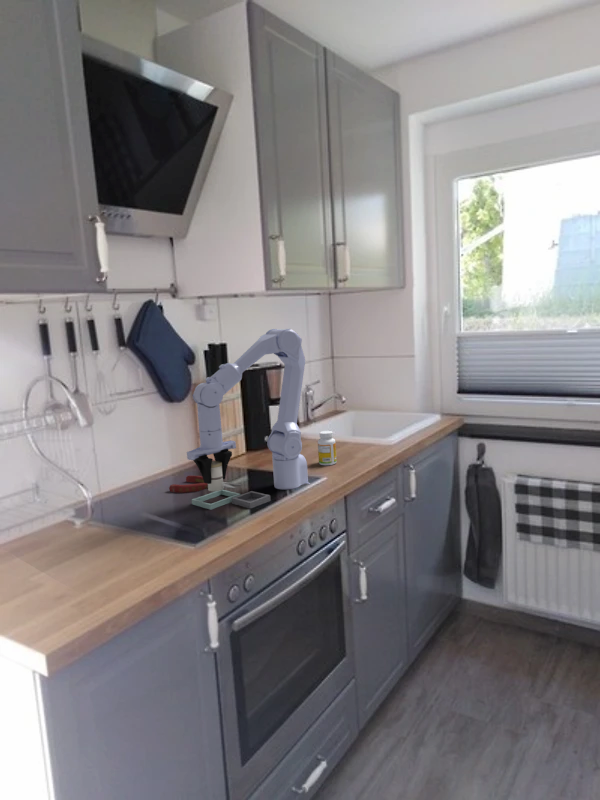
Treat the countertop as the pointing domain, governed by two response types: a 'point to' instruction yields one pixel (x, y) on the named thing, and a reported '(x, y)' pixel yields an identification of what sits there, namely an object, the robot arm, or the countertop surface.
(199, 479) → the pliers
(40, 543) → the countertop surface
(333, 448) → the supplement bottle
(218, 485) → the cylinder
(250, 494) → the socket block
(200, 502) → the teal rectangular frame
